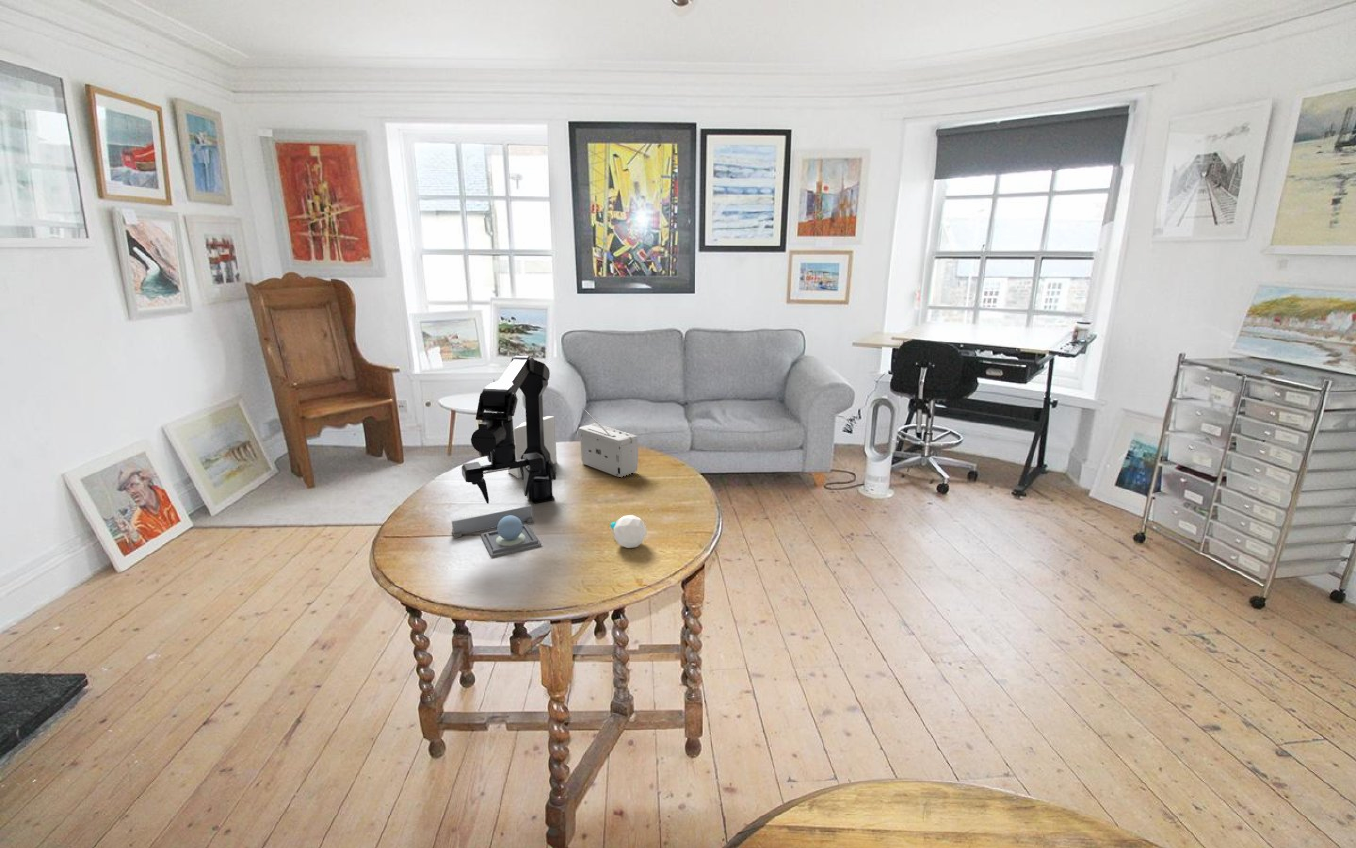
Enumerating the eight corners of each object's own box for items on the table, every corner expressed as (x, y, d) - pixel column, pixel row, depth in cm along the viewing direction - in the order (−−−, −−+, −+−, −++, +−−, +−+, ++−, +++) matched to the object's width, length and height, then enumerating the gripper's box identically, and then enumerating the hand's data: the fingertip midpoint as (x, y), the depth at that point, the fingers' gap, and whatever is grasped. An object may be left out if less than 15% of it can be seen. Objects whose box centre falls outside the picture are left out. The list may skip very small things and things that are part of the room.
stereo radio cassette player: (639, 473, 191) (638, 414, 185) (620, 480, 185) (619, 419, 179) (596, 458, 204) (594, 402, 198) (577, 464, 198) (575, 407, 193)
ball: (519, 531, 151) (518, 509, 149) (525, 541, 146) (524, 519, 144) (495, 536, 148) (494, 514, 146) (501, 546, 143) (499, 523, 141)
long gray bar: (529, 515, 161) (528, 502, 159) (533, 521, 157) (532, 507, 156) (452, 531, 151) (450, 517, 150) (454, 538, 148) (453, 523, 147)
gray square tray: (528, 526, 155) (528, 522, 154) (541, 546, 145) (541, 541, 144) (481, 536, 149) (480, 532, 149) (491, 557, 139) (491, 553, 139)
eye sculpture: (534, 455, 206) (531, 410, 201) (558, 463, 199) (556, 416, 194) (494, 469, 193) (489, 421, 188) (518, 478, 186) (514, 428, 181)
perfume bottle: (621, 546, 138) (592, 533, 146) (645, 555, 143) (616, 543, 152) (634, 514, 139) (605, 504, 148) (658, 525, 145) (628, 515, 153)
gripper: (531, 424, 151) (534, 481, 156) (454, 435, 142) (461, 494, 147) (544, 436, 142) (547, 496, 147) (463, 449, 133) (469, 512, 138)
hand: (506, 499), depth 145 cm, fingers open, 9 cm apart
